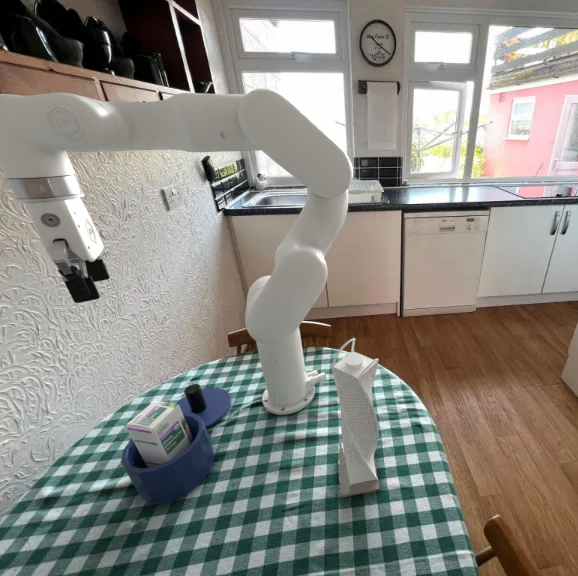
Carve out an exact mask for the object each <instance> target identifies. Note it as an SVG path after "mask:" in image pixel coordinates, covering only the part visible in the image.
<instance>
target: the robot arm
mask: <svg viewBox="0 0 578 576" xmlns="http://www.w3.org/2000/svg"><path fill="white" fill-rule="evenodd" d="M162 150H163V151H168V150H169V151H173V150H174V151H182V152H187V153H219V152H221V153H222V152H223V153H224V152H255V151H256V152H257V151H261V152H262V153H264V154H265V155H266V156H267V157H269V158H270V159H271V160H272V161H273V162H275V163H276V165H278V166H279V167H281V168H282V169H283V170H285V172H287V173H289V174H290V175H291V176H292V177H294V178H295V179H296V180H297V181H298V182H300V183H301V184H303V186H305V187H306V192H307V193H306V200H305V202H304V205H303V207H302V209H301V211H300V212H299V215H298V216H297V218H296V220H295V221H294V223H293V225H292V226H291V228H290V230H289V231H288V233H287V234H286V236H285V237H284V238H283V240H282V242H281V243H280V244H279V246H278V247H277V249H276V251H275V252H274V253H275V254H274V257H273V258H274V259H273V262H274V263H273V264H274V265H273V266H274V269H273V271H272V273H271V275H264V276H262V277H259V278H257V279H256V280H255V281H254V282H253V283H251V285H250V287H249V289H248V292H247V295H246V304H245V314H244V325H245V328H246V331H247V333H248V335H249V336H250V337H251V338H252V339H253V340H254V341H255V343H256V347H257V353H258V357H259V362H260V366H261V370H262V374H263V379H264V384H265V390H264V392H263V394H262V396H261V400H262V401H261V403H262V405H263V407H264V409H265V410H266V411H267V412H269V413H271V414H274V415H277V416H284V415H285V416H286V415H291V414H295V413H297V412H299V411H302V410H303V409H304V408H305V407H307V406H308V405H309V404H310V403H311V402H312V400H313V399H314V397H315V393H316V387H315V386H316V384H317V383H321V382H324V381H326V380H327V374H326V373H325V372H321V373H319V372H318V369H314V370H312V371H310V372H308V371H306V364H305V357H304V351H303V345H302V338H301V331H300V326H301V324H302V323H303V321H304V320H305V319H306V317H307V316H308V314H309V312H310V311H311V309H312V308H313V306H314V305H315V303H316V302H317V300H318V299H319V298H320V295H321V294H322V293H323V291H324V289H325V287H326V284H327V281H328V274H329V273H328V271H329V270H328V265H327V262H326V259H325V257H326V255H327V253H328V252H329V250H330V248H331V247H332V245H333V244H334V242H335V240H336V238H337V236H338V234H339V233H340V232H341V229H342V227H343V225H344V223H345V221H346V219H347V215H348V210H349V188H350V186H351V184H352V182H353V177H354V168H353V165H352V162H351V160H350V157H349V156H348V155H347V153H346V152H345V151H344V150H343V149H342V147H340V146H339V145H338V144H337V143H336V142H334V141H333V139H331V138H330V137H329V136H328V135H327V134H326V133H325V132H324V131H322V129H320V128H319V127H318V126H317V125H316V124H315V123H314V122H313V121H311V119H309V117H307V116H306V115H305V114H304V113H303V112H302V111H301V110H300V109H299V108H298V107H297V106H295V104H293V103H292V102H291V101H290V100H289V99H288V97H287V98H286V96H284V95H283V94H282V93H280V92H278V91H276V90H274V89H270V88H266V87H265V88H264V87H259V88H256V89H251V90H250V91H249V92H247V93H231V94H230V93H205V92H204V93H201V92H199V93H198V92H181V93H176V94H173V95H172V96H169V97H168V98H165V99H162V100H161V99H160V100H154V101H110V100H109V101H107V100H99V99H95V98H92V97H88V96H85V95H79V94H75V93H70V92H48V93H41V94H40V93H39V94H32V95H22V94H21V95H20V94H10V93H0V169H1V172H2V173H3V176H4V178H5V180H6V182H7V184H8V186H9V187H10V190H11V191H12V194H13V195H14V197H15V200H16V202H17V203H19V204H20V203H22V204H26V206H27V209H28V212H29V215H30V218H31V220H32V222H33V225H34V227H35V230H36V232H37V234H38V237H39V238H40V241H41V244H42V245H43V248H44V249H45V252H46V253H47V255H48V257H49V259H50V260H51V262H52V263H53V265H55V266H56V267H57V268H58V269H57V273H59V274H60V275H61V280H62V281H63V283H64V285H65V287H66V288H67V291H68V293H69V295H70V297H71V299H72V300H73V301H72V302H74V303H75V304H80V303H86V302H91V301H95V300H99V299H100V298H101V294H100V292H99V290H98V287H97V286H96V284H95V283H96V282H102V281H107V280H110V278H111V277H110V274H109V271H108V269H107V267H106V264H105V262H104V260H103V258H102V255H101V254H102V252H103V250H104V248H105V247H104V243H103V241H102V239H101V236H100V234H99V232H98V230H97V228H96V226H95V224H94V222H93V220H92V217H91V216H90V213H89V212H88V209H87V207H86V206H85V204H84V202H83V201H82V198H83V197H85V194H84V190H83V189H82V186H81V184H80V182H79V179H78V176H77V174H76V172H75V170H74V167H73V164H72V162H71V159H70V157H69V154H68V152H74V153H100V152H126V151H127V152H128V151H162ZM77 266H78V267H77Z"/></svg>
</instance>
